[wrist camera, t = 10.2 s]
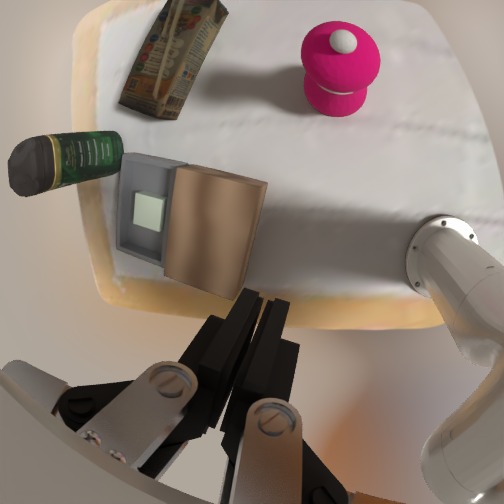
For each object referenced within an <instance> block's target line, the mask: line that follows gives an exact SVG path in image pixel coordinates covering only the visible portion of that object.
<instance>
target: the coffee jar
mask: <svg viewBox="0 0 504 504" xmlns="http://www.w3.org/2000/svg"><path fill="white" fill-rule="evenodd" d="M123 154H124V149H123V143H122V139H121V137H120V135H119V134H118V133H117V132H115V131H94V132H75V133H61V134H51V135H42V136H36V137H32V138H29V139H26V140H24V141H22V142H21V143H20V144H18V145H17V146H16V147H15V149H14V150H13V152H12V154H11V156H10V158H9V160H8V175H9V183H10V187H11V188H12V189H13V190H14V192H15V193H16V194H18V195H19V196H25V197H28V196H33V195H37V194H40V193H43V192H46V191H49V190H53V189H57V188H61V187H64V186H68V185H72V184H76V183H80V182H83V181H87V180H92V179H97V178H101V177H106V176H109V175H113V174H115V173H117V172H118V171H119V170H120V169H121V163H122V155H123Z"/></svg>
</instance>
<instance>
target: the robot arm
mask: <svg viewBox="0 0 504 504" xmlns="http://www.w3.org/2000/svg"><path fill="white" fill-rule="evenodd" d="M442 221H443V222H442ZM441 222H442V223H441ZM469 235H470V236H469ZM414 246H415V248H413V247H414ZM405 263H406V272H407V276H408V278H409V280H410V283H411V284H412V286H413V287H414V289H415V290H416V291H417V292H418V293H420V294H421V295H423V296H425V297H428V298H432V299H433V301H434V303H435V305H436V307H437V308H438V310H439V312H440V314H441V316H442V318H443V319H444V321H445V323H446V325H447V327H448V329H449V331H450V333H451V335H452V337H453V339H454V340H455V342H456V345H457V347H458V349H459V350H460V352H461V354H462V355H463V356H464V357H465V358H466V359H467V360H468V361H470V362H471V363H473V364H475V365H478V366H482V367H488V368H492V370H491V372H490V373H489V374H488V376H487V377H486V378H485V380H484V381H483V382H482V383H481V384H480V385H479V387H478V388H477V389H476V391H475V392H474V393H473V394H472V395H471V396H470V397H469V398H468V399H467V400H466V401H465V402H464V403H463V404H462V405H461V406H460V407H459V408H458V409H457V410H456V411H454V412H453V413H452V414H451V415H450V416H449V417H448V418H447V419H446V420H445V421H444V422H442V423H441V424H440V425H439V426H438V427H437V428H436V429H435V430H434V431H433V432H432V434H431V435H430V436H429V438H428V439H427V441H426V443H425V444H424V446H423V449H422V453H421V470H422V473H423V477H424V479H425V481H426V483H427V485H428V487H429V488H430V490H431V491H432V492H433V493H434V494H435V495H436V497H437V498H438V499H439V500H441V501H442V502H443V503H444V504H504V266H503V265H502V264H501V263H499V262H498V261H497V260H496V259H495V258H494V257H492V256H491V255H490V254H489V253H488V252H486V251H485V250H484V249H483V248H481V247H480V246H479V244H478V239H477V237H476V234H475V232H474V231H473V229H472V228H471V227H470V226H469V225H468V224H467V223H466V222H465V221H463V220H461V219H459V218H457V217H454V216H440V217H436V218H434V219H432V220H430V221H428V222H427V223H425V224H424V225H423V226H422V227H421V228H420V229H419V230H418V231H417V232H416V234H415V235H414V237H413V238H412V240H411V242H410V244H409V247H408V250H407V254H406V262H405ZM258 296H259V292H256V291H253V290H250V289H247V288H244V289H243V290H242V292H241V294H240V296H239V297H238V299H237V301H236V302H235V304H234V306H233V307H232V309H231V311H230V312H229V314H228V316H227V317H226V319H222V318H220V317H217V316H214V315H210V316H209V317H208V319H207V320H206V322H205V323H204V325H203V326H202V328H201V329H200V330H199V332H198V334H197V335H196V336H195V338H194V339H193V341H192V342H191V343H190V345H189V346H188V348H187V349H186V351H185V352H184V353H183V355H182V356H181V358H180V359H179V361H178V362H172V361H162V362H159V363H155V364H153V365H152V366H150V367H149V368H148V369H147V370H146V371H144V372H143V373H142V374H141V375H140V376H139V377H138V378H137V379H136V380H131V381H124V382H116V383H107V384H98V385H87V386H77V387H70V386H68V383H67V382H65V381H63V380H61V379H58V378H56V377H54V376H52V375H50V374H48V373H46V372H44V371H42V370H40V369H38V368H36V367H34V366H32V365H30V364H28V363H27V362H24V361H21V360H13V361H11V362H9V363H7V364H6V365H5V366H4V368H3V369H2V370H1V369H0V504H214V503H211V502H208V501H205V500H202V499H199V498H196V497H194V496H191V495H189V494H186V493H183V492H181V491H179V490H176V489H174V488H171V487H169V486H167V485H164V484H163V483H160V482H158V480H159V479H160V478H161V477H162V476H163V474H164V473H165V472H166V471H167V469H168V468H169V467H170V466H171V464H172V463H173V462H174V460H175V459H176V458H177V457H178V456H179V454H180V453H181V452H182V451H183V449H184V448H185V446H186V445H187V444H188V442H189V440H192V439H195V438H199V437H201V436H202V434H206V432H207V429H208V427H211V428H214V429H215V427H216V425H217V423H218V420H219V417H220V416H221V413H222V411H223V409H224V407H225V405H226V402H227V400H228V398H229V395H230V393H231V396H230V399H229V402H228V405H227V409H226V412H225V415H224V418H223V421H222V424H221V427H220V431H222V432H225V434H224V437H223V440H222V443H221V446H222V447H223V449H224V451H225V452H226V454H227V455H228V458H227V462H226V467H225V472H224V477H223V482H222V487H221V493H220V497H219V502H218V504H406V503H401V502H396V501H391V500H387V499H383V498H379V497H375V496H371V495H368V494H364V493H361V492H357V491H355V492H354V493H352V492H349V491H346V490H345V488H344V487H343V485H342V484H341V483H340V482H339V481H338V480H337V479H336V477H335V476H334V475H333V474H332V473H331V472H330V471H329V469H328V468H327V467H326V466H325V465H324V464H323V463H322V461H321V460H320V459H319V458H318V457H317V455H316V454H315V453H314V452H313V451H312V450H311V448H310V447H309V446H308V445H307V443H306V442H305V441H304V440H303V438H302V419H301V416H300V414H299V412H298V411H297V409H296V408H295V407H293V406H292V405H291V404H289V403H288V402H289V397H290V393H291V388H292V383H293V378H294V374H295V368H296V363H297V358H298V353H299V347H300V345H299V344H297V343H294V342H291V341H288V340H285V339H281V335H282V331H283V328H284V324H285V320H286V317H287V313H288V309H289V305H290V302H287V301H284V300H281V299H278V298H275V300H274V301H270V300H268V302H267V304H266V307H265V309H264V312H263V314H262V317H261V319H260V322H259V324H258V326H257V329H256V331H255V334H254V336H253V333H254V329H255V326H256V323H257V320H258V316H259V313H260V310H261V306H262V303H263V299H264V298H261V297H258ZM252 336H253V339H252ZM251 339H252V341H251ZM250 342H251V343H250ZM231 391H232V392H231Z"/></svg>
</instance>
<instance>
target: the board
mask: <svg viewBox="0 0 504 504" xmlns="http://www.w3.org/2000/svg"><path fill="white" fill-rule="evenodd" d="M267 185H268V183H267V182H263V181H259V180H256V179H252V178H248V177H244V176H240V175H236V174H232V173H228V172H224V171H220V170H216V169H212V168H207V167H203V166H198V165H188V166H183V167H178V168H177V172H176V178H175V184H174V191H173V198H172V205H171V213H170V221H169V229H168V238H167V247H166V258H165V269H164V276H166V277H169V278H171V279H174V280H177V281H179V282H182V283H185V284H187V285H190V286H193V287H196V288H198V289H201V290H204V291H207V292H209V293H212V294H215V295H218V296H221V297H223V298H226V299H229V300H232V301H233V300H234V298H235V297H236V295H237V293H238V292H239V290H240V289H241V287H242V285H243V282H244V278H245V274H246V270H247V266H248V262H249V258H250V254H251V249H252V245H253V241H254V237H255V233H256V229H257V225H258V221H259V217H260V213H261V209H262V205H263V201H264V197H265V193H266V189H267Z"/></svg>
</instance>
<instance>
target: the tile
mask: <svg viewBox="0 0 504 504" xmlns="http://www.w3.org/2000/svg"><path fill="white" fill-rule="evenodd" d="M167 200H168V197H166V196H162V195H158V194H155V193H151V192H147V191H140V192H137V193H136V195H135V207H134V220H133V224H137V225H140V226H143V227H146V228H149V229H152V230H155V231H158V232H160V231H162V230H163V229H164V225H165V216H166V208H167Z"/></svg>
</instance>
